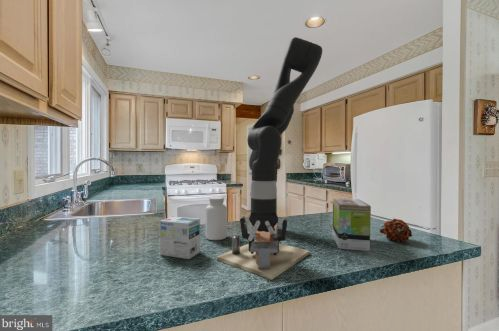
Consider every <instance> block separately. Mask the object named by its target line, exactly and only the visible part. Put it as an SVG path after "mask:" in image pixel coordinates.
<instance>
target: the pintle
mask: <svg viewBox="0 0 499 331" xmlns="http://www.w3.org/2000/svg"><path fill="white" fill-rule="evenodd" d="M240 247H241V236H240V235H238V234H235V235H232V236H231V251H232V254H234V255H237V254H240Z"/></svg>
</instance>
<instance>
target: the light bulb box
mask: <svg viewBox="0 0 499 331" xmlns="http://www.w3.org/2000/svg"><path fill="white" fill-rule="evenodd" d="M159 240H160V241H159V243H160V244H159V245H160V246H159V248H160V249H159V250H160V252H159V254H160V256H165V257H167V256H168V257H173V258H179V259H185V260H190V259H192V258H193V257H195V256H196V255H199V253H201V251H202V250H201V249H202V248H201V247H202V246H201V218H196V217H193V218H192V217H184V216H183V217H182V216H181V217H180V216H170V217H167V218H164V219H160V220H159Z"/></svg>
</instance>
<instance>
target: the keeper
mask: <svg viewBox="0 0 499 331" xmlns="http://www.w3.org/2000/svg"><path fill="white" fill-rule="evenodd" d="M250 252H258V269H263V270H270V253H278V242H257V241H256V240H254V241H252V244H251V247H250Z"/></svg>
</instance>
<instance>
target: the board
mask: <svg viewBox="0 0 499 331" xmlns="http://www.w3.org/2000/svg"><path fill="white" fill-rule="evenodd" d="M257 242H258V241H257ZM255 254H256V252H254V253H253V254H251V252H249V242H248V243H247V244H244V245H240V254H237V255H234V254H232V250H229V251H227V252H224V253H222V254H220V255H218V256H216V260H217V261H218V262H221V263H224V264H227V265H230V266H232V267H236V268H237V269H241V270H243V271H245V272H249V273H251V274H255V275H257V276H260V277H263V278H266V279H268V280H271V281H272V280H274V279H275V278H276V277H278V276H279V275H282V273H284V272H285V271H287V270H288V269H290V268H291V267H293V266H294V265H296V264H297V263H298V262H300V261H301V260H303V259H304V258H306V257H307V256H308V255H309V256H310V255H311V254H310V250H307V249H303V248H300V247H296V246H291V245H288V244H282V243H279V252H278V254H276V256H275V255H274V253H270V270H263V269H258V264H257V263H256V256H255Z"/></svg>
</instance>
